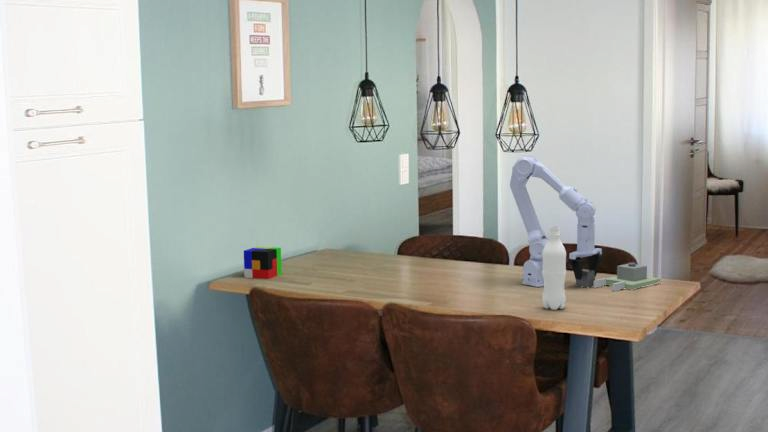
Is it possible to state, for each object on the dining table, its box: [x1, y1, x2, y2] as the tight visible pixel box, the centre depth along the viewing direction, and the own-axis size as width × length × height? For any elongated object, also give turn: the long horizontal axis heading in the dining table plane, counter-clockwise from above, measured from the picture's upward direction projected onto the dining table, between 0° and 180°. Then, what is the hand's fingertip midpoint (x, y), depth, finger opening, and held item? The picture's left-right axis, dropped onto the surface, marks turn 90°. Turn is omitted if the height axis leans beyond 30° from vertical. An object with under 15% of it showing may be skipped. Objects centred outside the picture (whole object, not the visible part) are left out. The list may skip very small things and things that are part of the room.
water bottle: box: [541, 225, 567, 311], centre depth 290 cm, size 7×7×25 cm
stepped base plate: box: [593, 261, 661, 292], centre depth 323 cm, size 21×13×7 cm, turn 129°
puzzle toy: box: [243, 246, 283, 280], centre depth 352 cm, size 10×10×10 cm
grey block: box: [575, 268, 596, 288], centre depth 323 cm, size 4×5×6 cm
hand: (585, 277), depth 323 cm, fingers open, 7 cm apart
